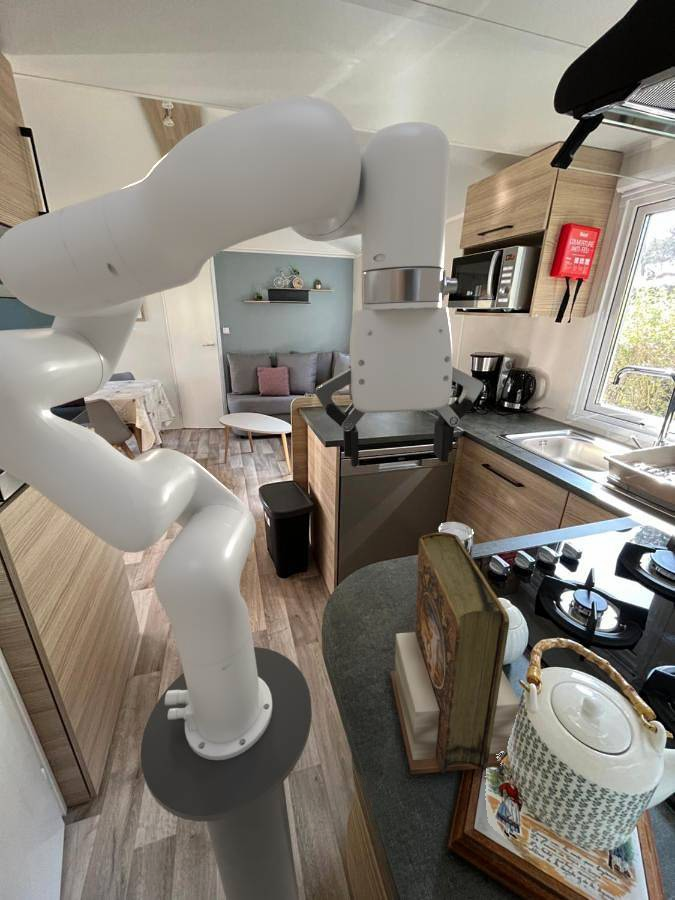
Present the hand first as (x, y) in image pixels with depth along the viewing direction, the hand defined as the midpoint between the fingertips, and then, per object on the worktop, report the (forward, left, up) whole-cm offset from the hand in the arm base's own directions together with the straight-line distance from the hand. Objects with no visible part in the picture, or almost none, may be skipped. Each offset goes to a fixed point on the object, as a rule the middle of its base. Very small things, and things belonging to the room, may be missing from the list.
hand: (397, 459), depth 42 cm
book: (+7, -1, -40) cm, 40 cm away
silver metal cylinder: (+17, +24, -40) cm, 50 cm away
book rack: (+8, -1, -40) cm, 41 cm away
